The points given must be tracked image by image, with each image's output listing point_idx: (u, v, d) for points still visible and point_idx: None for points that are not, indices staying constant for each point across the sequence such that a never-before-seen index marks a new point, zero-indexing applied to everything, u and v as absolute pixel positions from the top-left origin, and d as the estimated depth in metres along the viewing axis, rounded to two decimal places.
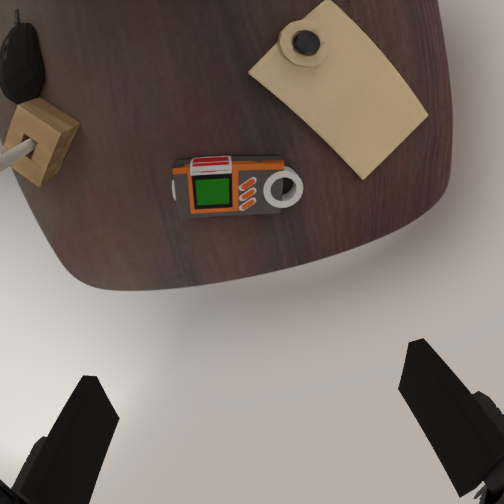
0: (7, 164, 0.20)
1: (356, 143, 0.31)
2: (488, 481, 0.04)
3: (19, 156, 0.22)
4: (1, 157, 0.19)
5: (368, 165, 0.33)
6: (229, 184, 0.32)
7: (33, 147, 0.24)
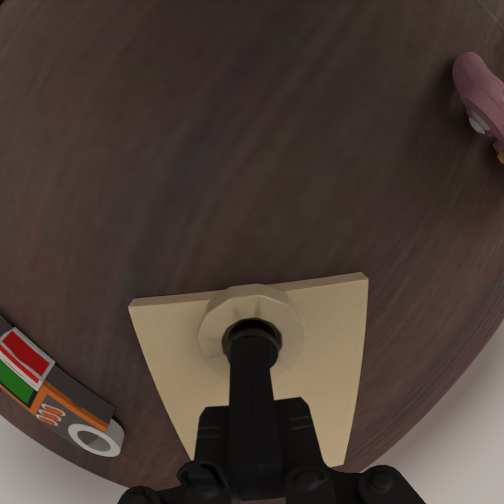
0: None
1: None
2: (284, 493, 0.07)
3: None
4: None
5: None
6: (33, 394, 0.15)
7: None
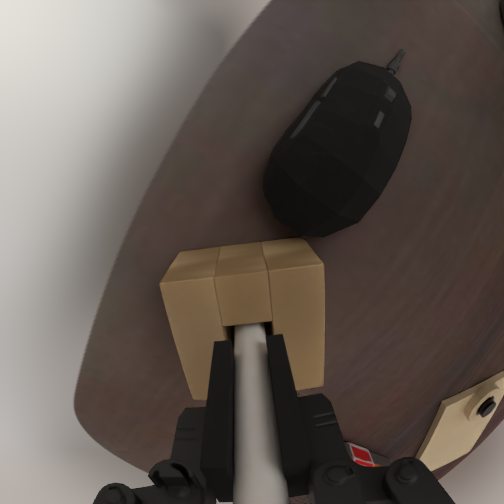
0: None
1: (427, 463, 0.27)
2: (309, 490, 0.06)
3: None
4: None
5: None
6: None
7: None
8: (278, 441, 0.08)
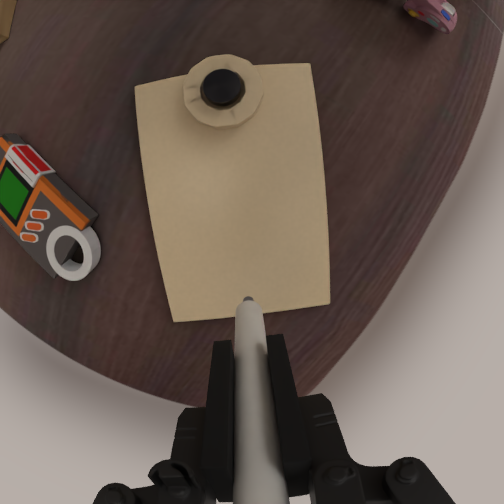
0: None
1: (193, 271, 0.22)
2: (309, 490, 0.06)
3: None
4: None
5: (192, 310, 0.23)
6: (25, 199, 0.18)
7: None
8: (278, 442, 0.08)
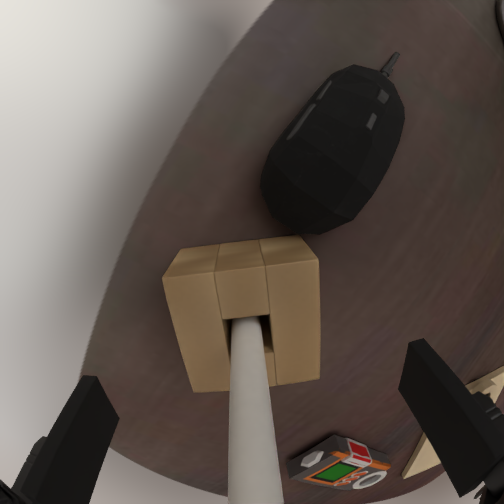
0: None
1: (425, 460, 0.28)
2: (488, 481, 0.04)
3: None
4: None
5: (415, 472, 0.29)
6: (350, 471, 0.24)
7: None
8: (271, 428, 0.09)
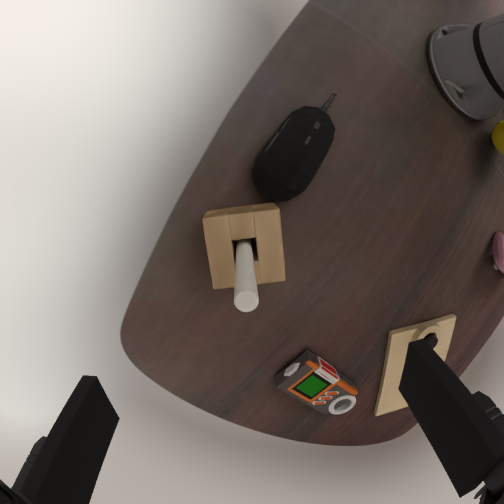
0: None
1: (391, 398, 0.42)
2: (488, 481, 0.04)
3: None
4: (254, 269, 0.24)
5: (385, 410, 0.43)
6: (323, 388, 0.39)
7: None
8: (253, 270, 0.23)
